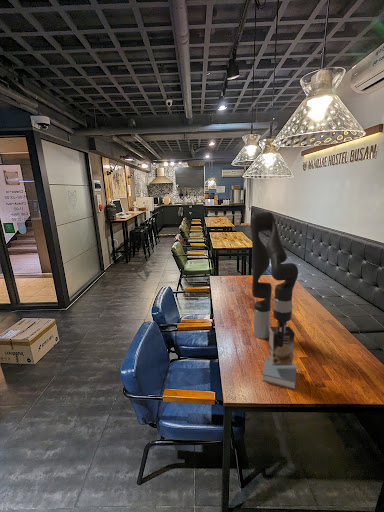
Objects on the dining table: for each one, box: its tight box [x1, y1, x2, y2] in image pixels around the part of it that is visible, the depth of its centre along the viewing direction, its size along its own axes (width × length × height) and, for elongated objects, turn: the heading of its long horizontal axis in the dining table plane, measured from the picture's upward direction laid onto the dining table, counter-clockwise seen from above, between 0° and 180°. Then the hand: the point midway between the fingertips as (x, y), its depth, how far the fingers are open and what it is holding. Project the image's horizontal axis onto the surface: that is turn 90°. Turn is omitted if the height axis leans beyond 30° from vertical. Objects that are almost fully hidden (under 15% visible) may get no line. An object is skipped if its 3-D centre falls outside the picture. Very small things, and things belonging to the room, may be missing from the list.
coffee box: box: [267, 326, 295, 366], centre depth 111 cm, size 9×6×16 cm
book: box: [261, 357, 297, 390], centre depth 115 cm, size 12×14×4 cm
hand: (280, 341), depth 111 cm, fingers closed on coffee box, 8 cm apart
